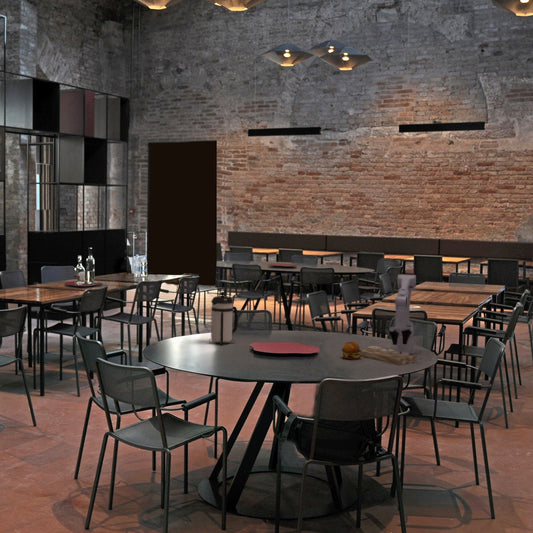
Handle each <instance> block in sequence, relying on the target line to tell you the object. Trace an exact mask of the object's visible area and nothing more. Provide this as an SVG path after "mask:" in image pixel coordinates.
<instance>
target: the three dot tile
mask: <svg viewBox="0 0 533 533" xmlns="http://www.w3.org/2000/svg"><path fill="white" fill-rule="evenodd" d="M409 355H410V354H409V353H406V352H401V351H399V352H396V351H395V352H393V355H392V356H395V357H400V358H404V357H409Z"/></svg>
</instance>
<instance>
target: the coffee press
mask: <svg viewBox="0 0 533 533" xmlns="http://www.w3.org/2000/svg"><path fill="white" fill-rule="evenodd" d="M233 304H234V300H233V298H232V297H230V296H227V295H225V292H224V291H221V292H220V295H217V296H214V297H213V298H212V300H211V307H210V308H211V314H210V315H211V317H210V318H211V319H210V320H211V321H210V322H211V330H210V339H209V340H208V344H211V343H213V342H215V343H219V344H220V346H223V345H224V344H223V343H228V342H230V343H231V344H233V342H235V340H234V339H233V334H234V333H236V331H237V330H238V323H239V322H238V319H239V314H238V309H237V307H236V306H233ZM233 318H234V319H233ZM233 321H234V322H233ZM233 323H234V324H233Z"/></svg>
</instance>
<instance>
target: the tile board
mask: <svg viewBox="0 0 533 533" xmlns="http://www.w3.org/2000/svg"><path fill="white" fill-rule="evenodd" d="M361 350H362V351H361V357H363V358H366V359H367V358H368V359H371V360H375V361H380V362H385V363H389V364H393V365H397V366H402V365H406V363H407V364H410V363H409V362H412V363H415V362H414V361H416V362H417V356H416V355H413V354H409V357H404V358H400V357H395V356H392V355H393V354H391V355H386V354H381V353H379V352H372V351H368V350H367V348H365V349H361ZM401 364H402V365H401Z"/></svg>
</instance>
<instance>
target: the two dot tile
mask: <svg viewBox="0 0 533 533" xmlns="http://www.w3.org/2000/svg"><path fill="white" fill-rule="evenodd" d="M393 352H396V349H390V348H382V349H381V350H379V353H381V354H386V355H391V354H393Z"/></svg>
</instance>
